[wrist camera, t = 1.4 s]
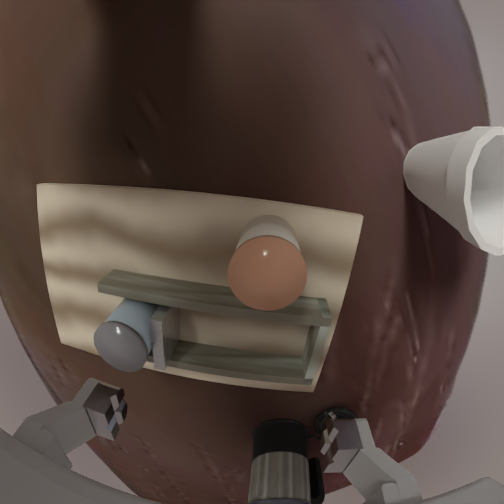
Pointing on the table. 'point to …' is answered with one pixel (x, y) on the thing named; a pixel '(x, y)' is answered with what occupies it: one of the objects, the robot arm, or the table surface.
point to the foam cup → (463, 183)
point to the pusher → (164, 334)
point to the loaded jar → (126, 335)
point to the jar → (267, 264)
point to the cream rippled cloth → (193, 277)
